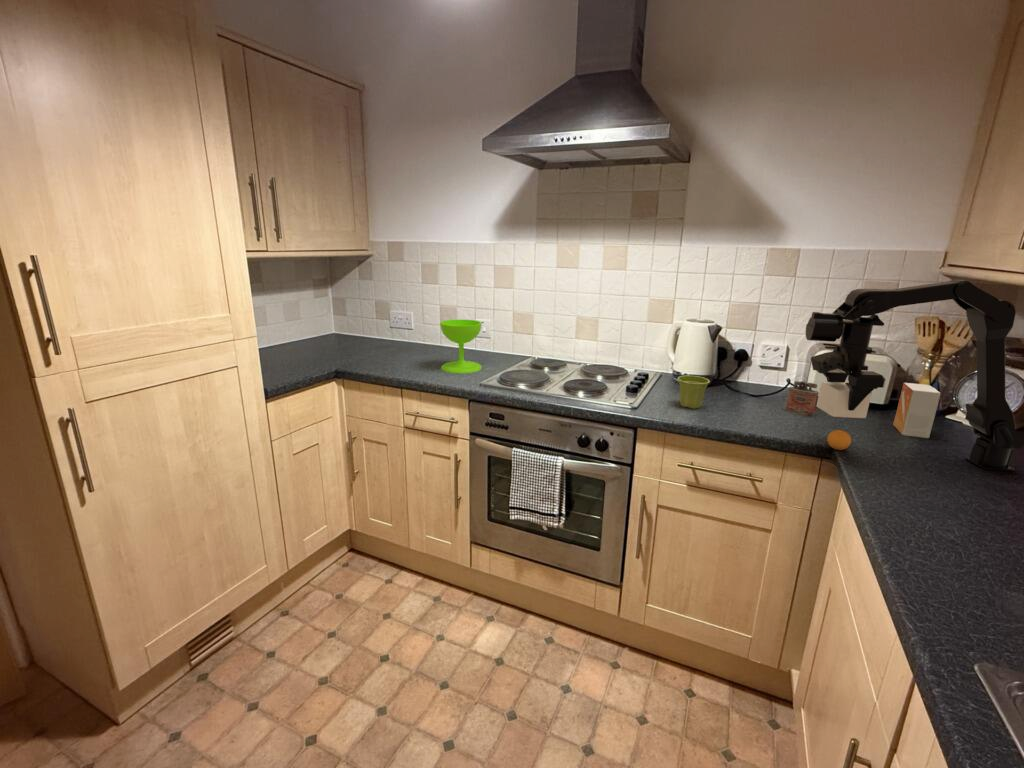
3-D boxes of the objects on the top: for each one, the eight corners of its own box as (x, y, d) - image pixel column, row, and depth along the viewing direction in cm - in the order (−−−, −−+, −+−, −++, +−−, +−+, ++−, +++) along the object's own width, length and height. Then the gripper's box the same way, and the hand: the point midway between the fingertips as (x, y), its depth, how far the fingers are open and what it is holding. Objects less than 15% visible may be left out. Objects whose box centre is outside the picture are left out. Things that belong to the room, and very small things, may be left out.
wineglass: (489, 366, 202) (489, 322, 197) (465, 375, 189) (464, 327, 184) (457, 361, 210) (457, 318, 205) (432, 369, 197) (431, 323, 192)
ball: (819, 439, 130) (835, 448, 131) (829, 447, 125) (846, 456, 126) (832, 423, 129) (848, 432, 129) (843, 430, 124) (859, 440, 124)
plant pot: (684, 411, 154) (687, 384, 151) (669, 401, 163) (672, 375, 160) (712, 409, 156) (715, 382, 153) (695, 400, 165) (698, 374, 162)
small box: (892, 425, 145) (903, 382, 142) (919, 428, 143) (930, 384, 139) (901, 435, 138) (912, 389, 134) (929, 438, 136) (942, 392, 132)
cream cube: (847, 407, 129) (853, 383, 127) (865, 418, 121) (872, 392, 119) (816, 406, 129) (821, 381, 127) (832, 416, 122) (838, 390, 120)
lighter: (783, 411, 156) (788, 379, 153) (786, 408, 158) (792, 377, 155) (812, 417, 151) (818, 385, 148) (815, 414, 153) (821, 383, 150)
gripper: (800, 334, 130) (790, 392, 134) (841, 350, 112) (827, 416, 116) (845, 335, 129) (833, 394, 133) (893, 351, 111) (878, 418, 116)
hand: (841, 404), depth 125 cm, fingers closed on cream cube, 8 cm apart
